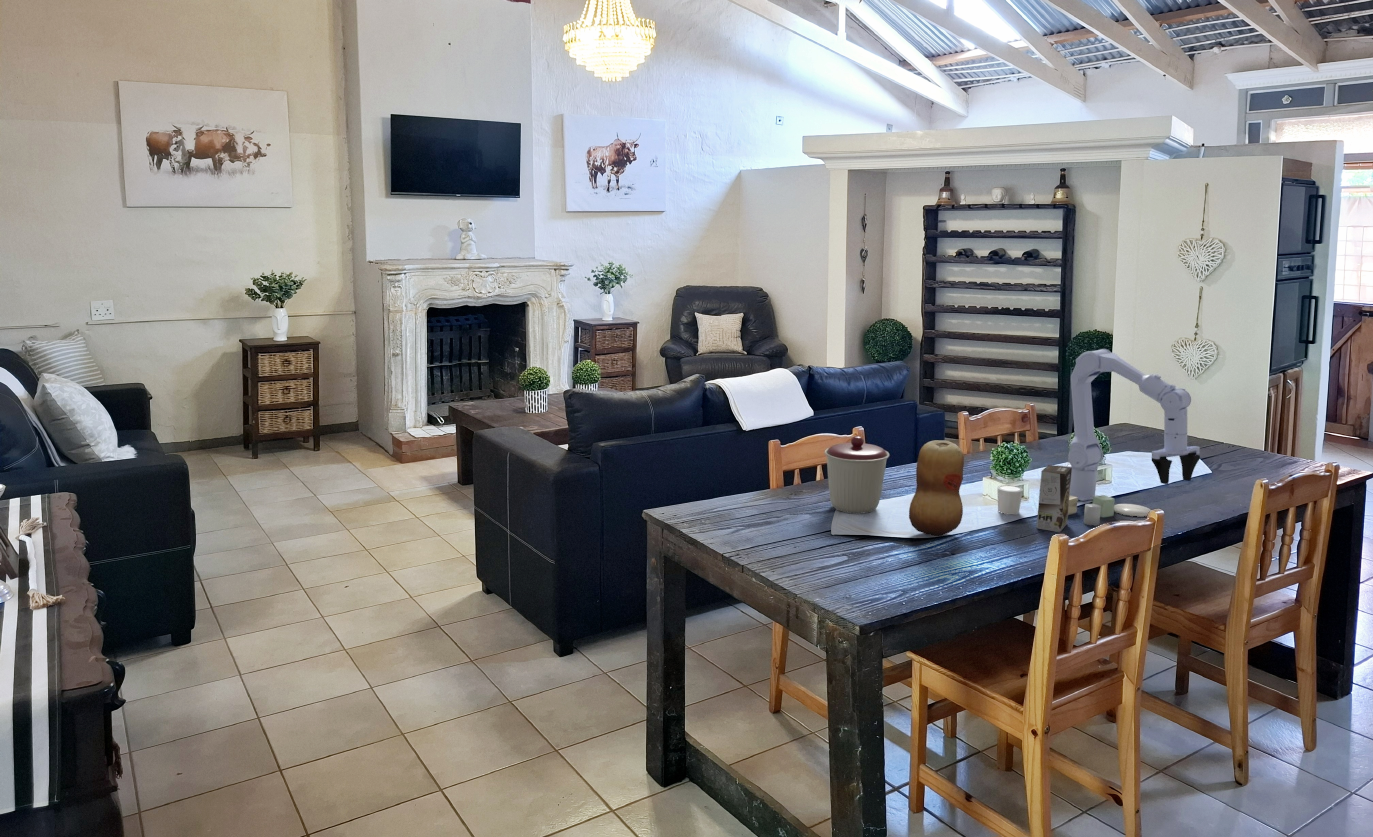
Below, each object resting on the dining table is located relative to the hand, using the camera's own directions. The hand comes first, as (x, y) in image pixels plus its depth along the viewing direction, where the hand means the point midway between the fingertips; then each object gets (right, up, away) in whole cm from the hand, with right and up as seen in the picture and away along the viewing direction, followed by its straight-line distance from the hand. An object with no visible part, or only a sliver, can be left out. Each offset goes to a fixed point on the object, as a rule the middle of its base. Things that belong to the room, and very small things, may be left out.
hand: (1175, 481), depth 281 cm
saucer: (-9, -9, +8) cm, 15 cm away
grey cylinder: (-25, -11, -3) cm, 27 cm away
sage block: (-18, -10, +5) cm, 21 cm away
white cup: (-44, -9, +6) cm, 46 cm away
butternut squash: (-70, -13, -14) cm, 73 cm away
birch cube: (-28, -9, +7) cm, 30 cm away
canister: (-88, -8, +8) cm, 88 cm away
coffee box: (-36, -12, -6) cm, 39 cm away
